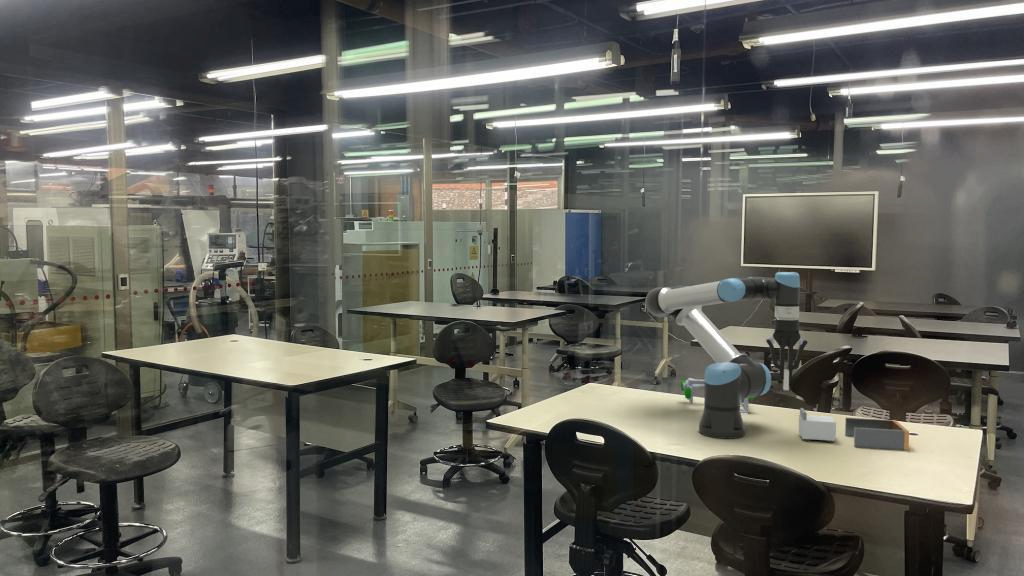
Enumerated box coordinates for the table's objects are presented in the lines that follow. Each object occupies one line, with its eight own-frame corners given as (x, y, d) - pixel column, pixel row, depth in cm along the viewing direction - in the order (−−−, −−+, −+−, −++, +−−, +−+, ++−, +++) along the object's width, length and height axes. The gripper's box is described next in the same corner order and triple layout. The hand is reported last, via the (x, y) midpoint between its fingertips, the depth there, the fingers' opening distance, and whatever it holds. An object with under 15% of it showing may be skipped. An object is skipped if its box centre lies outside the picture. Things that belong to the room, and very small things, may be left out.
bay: (854, 447, 215) (855, 428, 215) (845, 435, 229) (845, 417, 229) (908, 450, 211) (909, 431, 211) (895, 438, 225) (895, 420, 225)
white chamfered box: (802, 441, 222) (802, 413, 221) (798, 434, 230) (799, 407, 229) (835, 443, 219) (836, 415, 219) (830, 436, 227) (831, 409, 227)
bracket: (680, 401, 280) (681, 377, 280) (743, 403, 277) (744, 379, 276) (685, 412, 262) (686, 386, 261) (753, 414, 258) (753, 388, 258)
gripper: (767, 319, 223) (766, 390, 224) (809, 320, 219) (808, 392, 221) (764, 317, 230) (763, 386, 231) (806, 318, 227) (805, 388, 228)
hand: (785, 389), depth 226 cm, fingers closed
